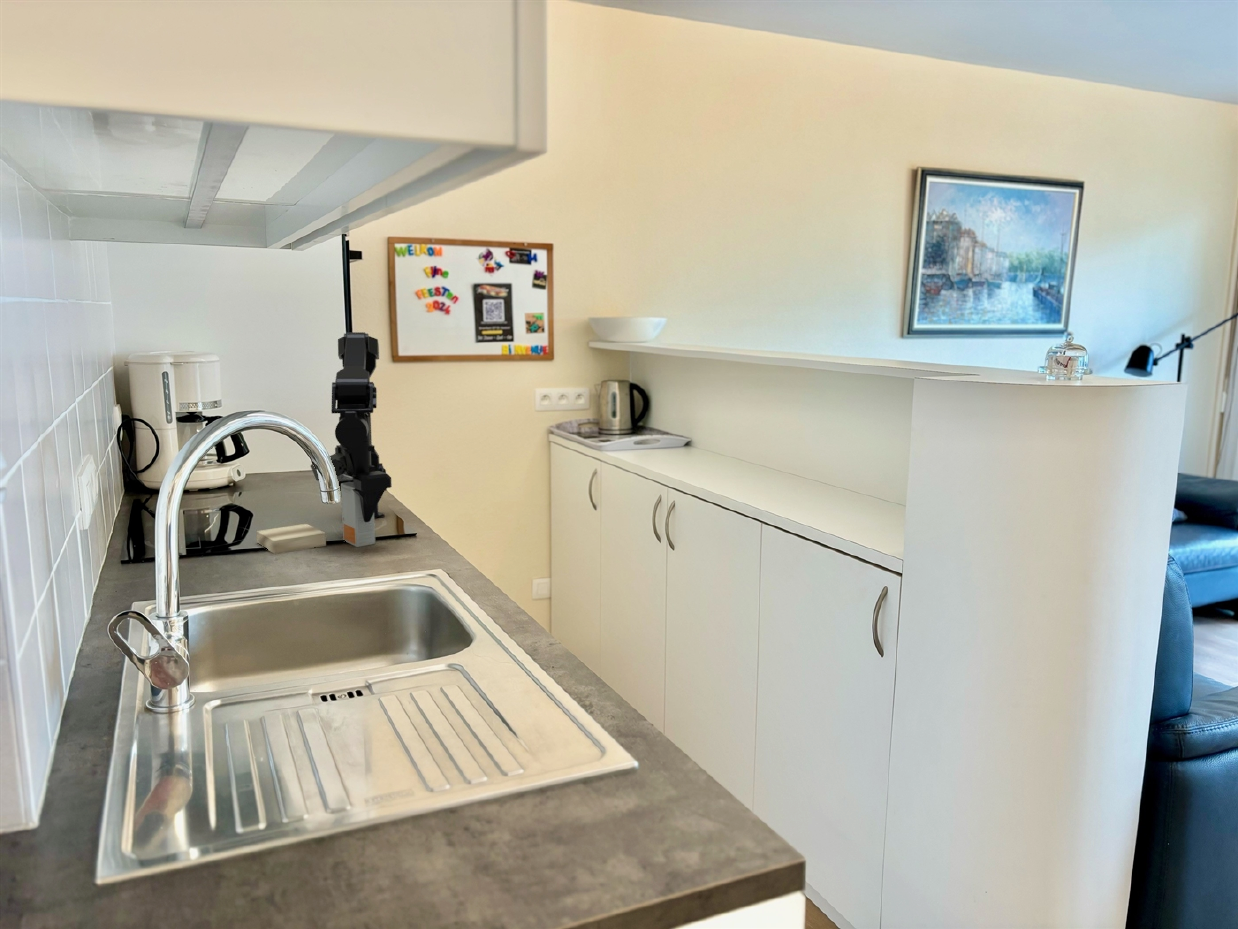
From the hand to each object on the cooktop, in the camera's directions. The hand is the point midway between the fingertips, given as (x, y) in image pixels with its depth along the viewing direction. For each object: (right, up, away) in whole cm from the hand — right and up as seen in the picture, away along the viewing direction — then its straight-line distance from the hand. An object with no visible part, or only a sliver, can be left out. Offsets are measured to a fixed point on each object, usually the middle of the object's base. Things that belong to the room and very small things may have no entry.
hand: (358, 518), depth 179 cm
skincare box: (0, -5, +1) cm, 5 cm away
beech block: (-13, -6, -1) cm, 14 cm away
